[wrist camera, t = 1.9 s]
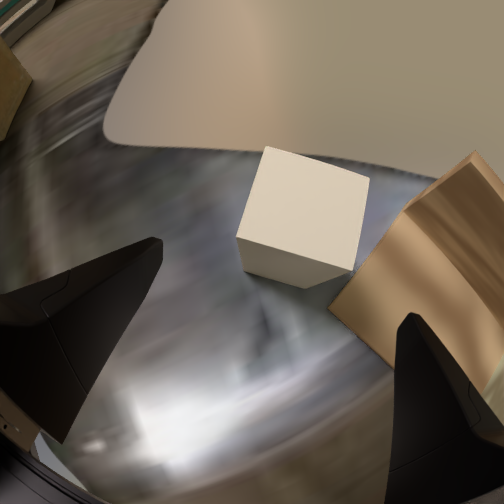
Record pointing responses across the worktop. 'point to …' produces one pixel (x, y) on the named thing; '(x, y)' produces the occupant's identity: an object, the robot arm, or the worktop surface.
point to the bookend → (301, 220)
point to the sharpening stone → (21, 17)
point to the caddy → (10, 86)
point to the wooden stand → (440, 276)
